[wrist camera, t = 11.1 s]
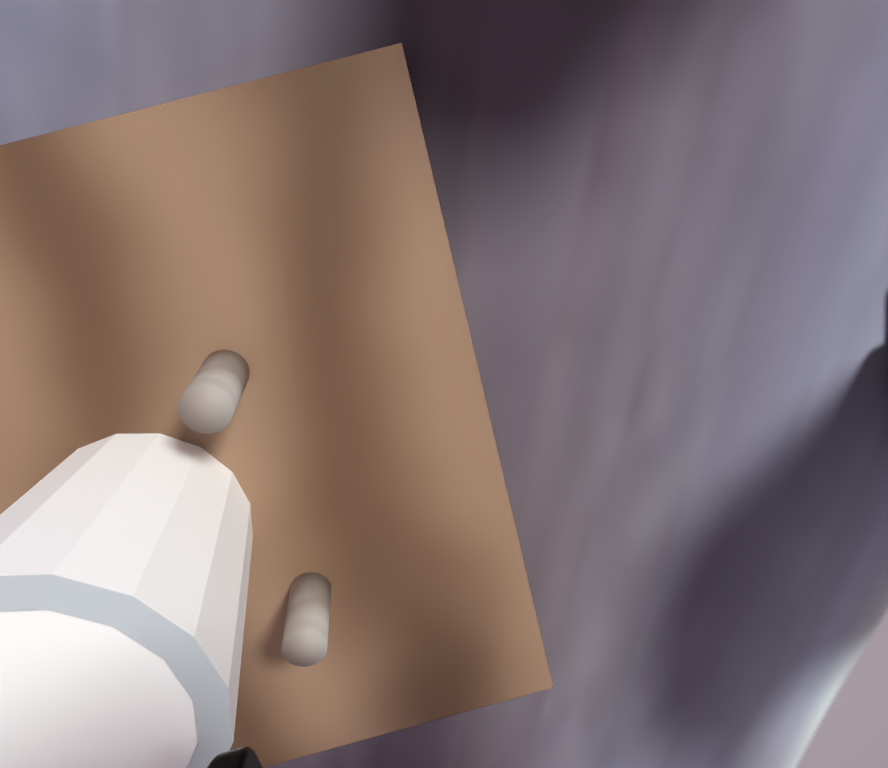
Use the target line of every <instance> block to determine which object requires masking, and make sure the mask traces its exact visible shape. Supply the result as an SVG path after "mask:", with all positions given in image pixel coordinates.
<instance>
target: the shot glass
mask: <svg viewBox="0 0 888 768" xmlns="http://www.w3.org/2000/svg"><path fill="white" fill-rule="evenodd" d="M252 540H253V534H252V519H251V505H250V502H249V500H248V499H247V497H246V495H245V493H244V492H243V490H242V488H241V486H240V485H239V483H238V481H237V479H236V477H235V476H234V474H233V472H232V471H230V470H229V469H228V468H227V467H225V466H224V465H223V464H222V463H220V462H219V461H218V460H217V459H215V458H214V457H213V456H211V455H210V454H209V453H208V452H206V451H205V450H204V449H203V448H201V447H199V446H196V445H193V444H190V443H187V442H184V441H181V440H178V439H175V438H172V437H169V436H166V435H163V434H160V433H143V434H114V435H112V436H109V437H107V438H104V439H102V440H99V441H96V442H94V443H91V444H89V445H86V446H84V447H81V448H78V449H77V450H76V451H75V452H73V453H72V454H71V455H70V456H69V457H68V458H66V459H65V460H64V461H63V462H62V463H60V464H59V465H58V466H57V467H56V468H55V469H53V470H52V471H51V472H50V473H49V474H48V475H46V476H45V477H44V478H43V479H42V480H40V481H39V482H38V483H37V484H36V485H35V486H33V487H32V488H31V489H30V490H29V491H28V492H26V493H25V494H24V495H23V496H22V497H20V498H19V499H18V500H17V501H16V502H15V503H13V504H12V505H11V506H10V507H9V508H8V509H6V510H5V511H4V512H3V513H2V514H0V768H207V766H208V765H209V763H210V762H211V760H212V759H213V758H214V757H215V756H216V755H218V754H220V753H223V752H226V751H229V750H230V748H231V746H232V744H233V741H234V730H235V720H236V709H237V699H238V688H239V677H240V667H241V656H242V646H243V635H244V625H245V614H246V603H247V593H248V582H249V572H250V561H251V550H252Z"/></svg>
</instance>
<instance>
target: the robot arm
mask: <svg viewBox="0 0 888 768" xmlns="http://www.w3.org/2000/svg"><path fill="white" fill-rule="evenodd" d="M207 768H263V767H262V765H261V763H260V761H259V759H258V757H257V754H256V753H255V751H254V750H253V749H252V748H251V747H249V746H248V747H246V746H244V747H241V748H237V749H233V750H230V751H226V752H223V753H220V754H218V755H216V756H215V757H214V758H213V759H212V760H211V762H210V763H209V765H208V766H207Z"/></svg>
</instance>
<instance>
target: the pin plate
mask: <svg viewBox="0 0 888 768" xmlns="http://www.w3.org/2000/svg"><path fill="white" fill-rule="evenodd" d="M143 433H160V434H163V435H166V436H169V437H172V438H175V439H178V440H181V441H184V442H187V443H190V444H193V445H196V446H199V447H201V448H203V449H204V450H205V451H206V452H208V453H209V454H210V455H211V456H213V457H214V458H215V459H217V460H218V461H219V462H220V463H222V464H223V465H224V466H225V467H227V468H228V469H229V470H230V471H232V472H233V474H234V476H235V477H236V479H237V481H238V483H239V485H240V486H241V488H242V490H243V492H244V493H245V495H246V497H247V499H248V500H249V502H250V505H251V519H252V534H253V540H252V550H251V561H250V572H249V582H248V593H247V603H246V614H245V625H244V635H243V646H242V656H241V667H240V677H239V688H238V699H237V709H236V720H235V730H234V741H233V744H232V746H231V748H230V750H233V749H237V748H241V747H244V746H246V747H248V746H249V747H251V748H252V749H253V750H254V751H255V753H256V754H257V757H258V759H259V761H260V763H261V765H262V767H267V766H270V765H274V764H278V763H281V762H285V761H289V760H292V759H296V758H299V757H303V756H307V755H310V754H314V753H318V752H321V751H325V750H328V749H332V748H336V747H339V746H343V745H347V744H350V743H354V742H357V741H361V740H365V739H368V738H372V737H375V736H379V735H383V734H386V733H390V732H394V731H397V730H401V729H404V728H408V727H412V726H415V725H419V724H423V723H426V722H430V721H433V720H437V719H441V718H444V717H448V716H452V715H455V714H459V713H462V712H466V711H470V710H473V709H477V708H481V707H484V706H488V705H491V704H495V703H499V702H502V701H506V700H509V699H513V698H517V697H520V696H524V695H528V694H531V693H535V692H538V691H542V690H546V689H549V688H553V685H552V681H551V676H550V672H549V668H548V664H547V659H546V655H545V651H544V646H543V642H542V638H541V634H540V629H539V625H538V621H537V617H536V612H535V608H534V604H533V600H532V595H531V591H530V587H529V583H528V578H527V574H526V570H525V566H524V561H523V557H522V553H521V549H520V544H519V540H518V536H517V532H516V527H515V523H514V519H513V515H512V510H511V506H510V502H509V498H508V493H507V489H506V485H505V480H504V476H503V472H502V468H501V463H500V459H499V455H498V451H497V446H496V442H495V438H494V434H493V429H492V425H491V421H490V417H489V412H488V408H487V404H486V400H485V395H484V391H483V387H482V383H481V378H480V374H479V370H478V366H477V361H476V357H475V353H474V349H473V344H472V340H471V336H470V331H469V327H468V323H467V319H466V314H465V310H464V306H463V302H462V297H461V293H460V289H459V285H458V280H457V276H456V272H455V268H454V263H453V259H452V255H451V251H450V246H449V242H448V238H447V234H446V229H445V225H444V221H443V217H442V212H441V208H440V204H439V200H438V195H437V191H436V187H435V183H434V178H433V174H432V170H431V165H430V161H429V157H428V153H427V148H426V144H425V140H424V136H423V131H422V127H421V123H420V119H419V114H418V110H417V106H416V102H415V97H414V93H413V89H412V85H411V80H410V76H409V72H408V68H407V63H406V59H405V55H404V51H403V46H402V43H398V44H394V45H390V46H386V47H383V48H379V49H375V50H371V51H367V52H363V53H359V54H355V55H351V56H347V57H344V58H340V59H336V60H332V61H328V62H324V63H320V64H316V65H312V66H308V67H305V68H301V69H297V70H293V71H289V72H285V73H281V74H277V75H273V76H269V77H266V78H262V79H258V80H254V81H250V82H246V83H242V84H238V85H234V86H230V87H227V88H223V89H219V90H215V91H211V92H207V93H203V94H199V95H195V96H192V97H188V98H184V99H180V100H176V101H172V102H168V103H164V104H160V105H156V106H153V107H149V108H145V109H141V110H137V111H133V112H129V113H125V114H121V115H117V116H114V117H110V118H106V119H102V120H98V121H94V122H90V123H86V124H82V125H78V126H75V127H71V128H67V129H63V130H59V131H55V132H51V133H47V134H43V135H39V136H36V137H32V138H28V139H24V140H20V141H16V142H12V143H8V144H4V145H0V514H2V513H3V512H4V511H5V510H6V509H8V508H9V507H10V506H11V505H12V504H13V503H15V502H16V501H17V500H18V499H19V498H20V497H22V496H23V495H24V494H25V493H26V492H28V491H29V490H30V489H31V488H32V487H33V486H35V485H36V484H37V483H38V482H39V481H40V480H42V479H43V478H44V477H45V476H46V475H48V474H49V473H50V472H51V471H52V470H53V469H55V468H56V467H57V466H58V465H59V464H60V463H62V462H63V461H64V460H65V459H66V458H68V457H69V456H70V455H71V454H72V453H73V452H75V451H76V450H77V449H78V448H81V447H84V446H86V445H89V444H91V443H94V442H96V441H99V440H102V439H104V438H107V437H109V436H112V435H114V434H143ZM230 750H229V751H230Z"/></svg>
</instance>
